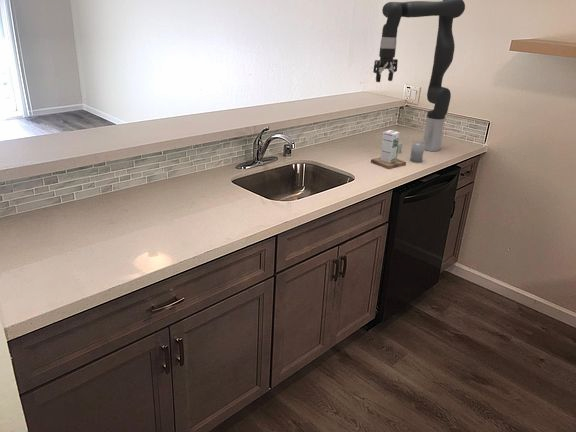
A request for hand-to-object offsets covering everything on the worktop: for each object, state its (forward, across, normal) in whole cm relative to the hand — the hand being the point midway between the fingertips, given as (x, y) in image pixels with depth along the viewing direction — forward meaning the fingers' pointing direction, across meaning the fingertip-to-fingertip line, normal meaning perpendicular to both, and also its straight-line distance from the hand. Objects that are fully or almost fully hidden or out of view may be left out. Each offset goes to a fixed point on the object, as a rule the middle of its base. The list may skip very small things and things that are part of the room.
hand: (384, 81), depth 238 cm
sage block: (+36, -8, +6) cm, 38 cm away
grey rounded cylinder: (+36, -6, +22) cm, 43 cm away
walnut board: (+36, +10, +18) cm, 42 cm away
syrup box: (+35, +10, +18) cm, 40 cm away
